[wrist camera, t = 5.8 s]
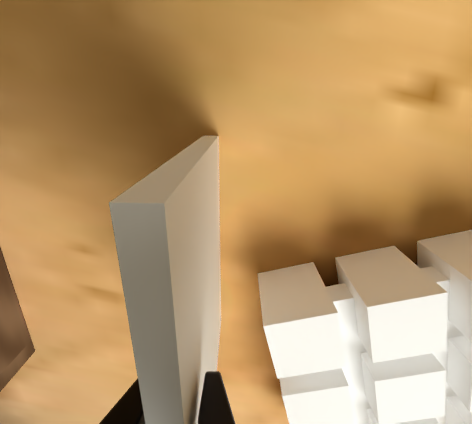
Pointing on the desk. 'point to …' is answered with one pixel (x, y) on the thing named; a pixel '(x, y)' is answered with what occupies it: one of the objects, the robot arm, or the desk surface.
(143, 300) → the sheet
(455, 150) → the desk surface
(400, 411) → the organizer
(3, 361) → the tray
